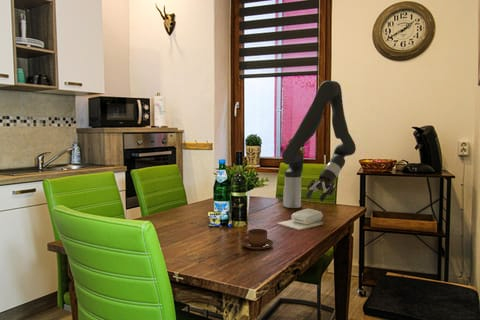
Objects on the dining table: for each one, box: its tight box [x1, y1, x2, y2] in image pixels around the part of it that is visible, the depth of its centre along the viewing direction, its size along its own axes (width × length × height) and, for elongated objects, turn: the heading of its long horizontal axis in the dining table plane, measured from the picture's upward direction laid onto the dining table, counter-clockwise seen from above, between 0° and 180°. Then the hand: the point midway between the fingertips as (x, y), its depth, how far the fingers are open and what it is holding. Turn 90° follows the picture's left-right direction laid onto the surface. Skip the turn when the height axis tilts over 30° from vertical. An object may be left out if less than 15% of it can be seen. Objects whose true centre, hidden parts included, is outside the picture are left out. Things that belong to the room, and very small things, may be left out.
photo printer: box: [290, 208, 324, 224], centre depth 191 cm, size 10×4×12 cm
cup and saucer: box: [241, 228, 274, 250], centre depth 155 cm, size 12×12×6 cm
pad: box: [276, 219, 324, 231], centre depth 189 cm, size 14×16×1 cm
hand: (313, 198), depth 194 cm, fingers open, 8 cm apart
